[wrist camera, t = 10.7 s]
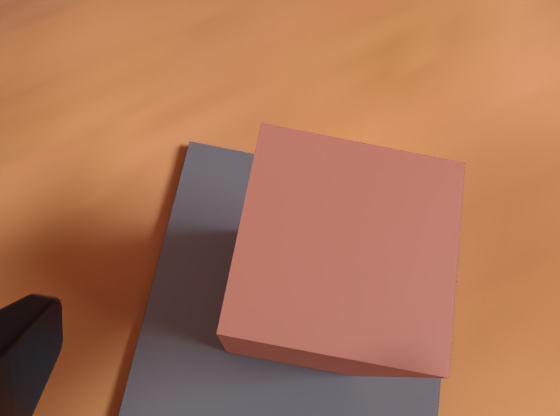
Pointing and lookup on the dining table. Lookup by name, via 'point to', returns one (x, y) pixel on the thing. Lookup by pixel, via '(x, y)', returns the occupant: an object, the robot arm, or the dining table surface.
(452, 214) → the red block
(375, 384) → the slate mat
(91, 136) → the dining table surface
